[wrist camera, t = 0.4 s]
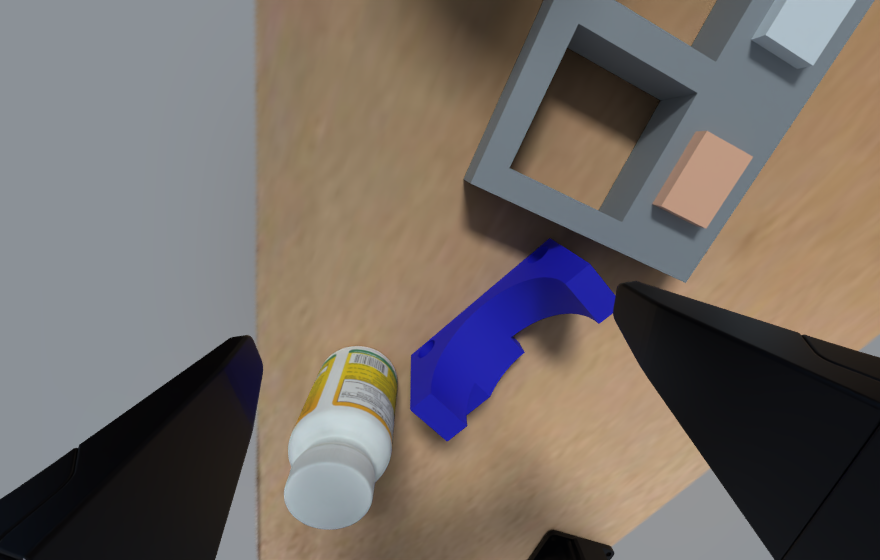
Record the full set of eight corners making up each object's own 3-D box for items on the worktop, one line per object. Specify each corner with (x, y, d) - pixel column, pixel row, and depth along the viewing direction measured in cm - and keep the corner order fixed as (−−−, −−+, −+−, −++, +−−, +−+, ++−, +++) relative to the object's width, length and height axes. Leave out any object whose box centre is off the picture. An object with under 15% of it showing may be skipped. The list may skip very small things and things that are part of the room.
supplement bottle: (384, 334, 25) (367, 437, 16) (407, 399, 27) (403, 524, 18) (307, 355, 25) (247, 468, 16) (334, 418, 27) (295, 552, 18)
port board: (654, 267, 25) (695, 287, 21) (463, 179, 22) (472, 184, 19) (858, -53, 20) (956, -98, 16) (640, -217, 17) (699, -313, 14)
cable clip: (454, 393, 27) (464, 456, 22) (411, 353, 26) (410, 410, 21) (588, 285, 25) (638, 324, 20) (548, 237, 24) (589, 263, 18)
